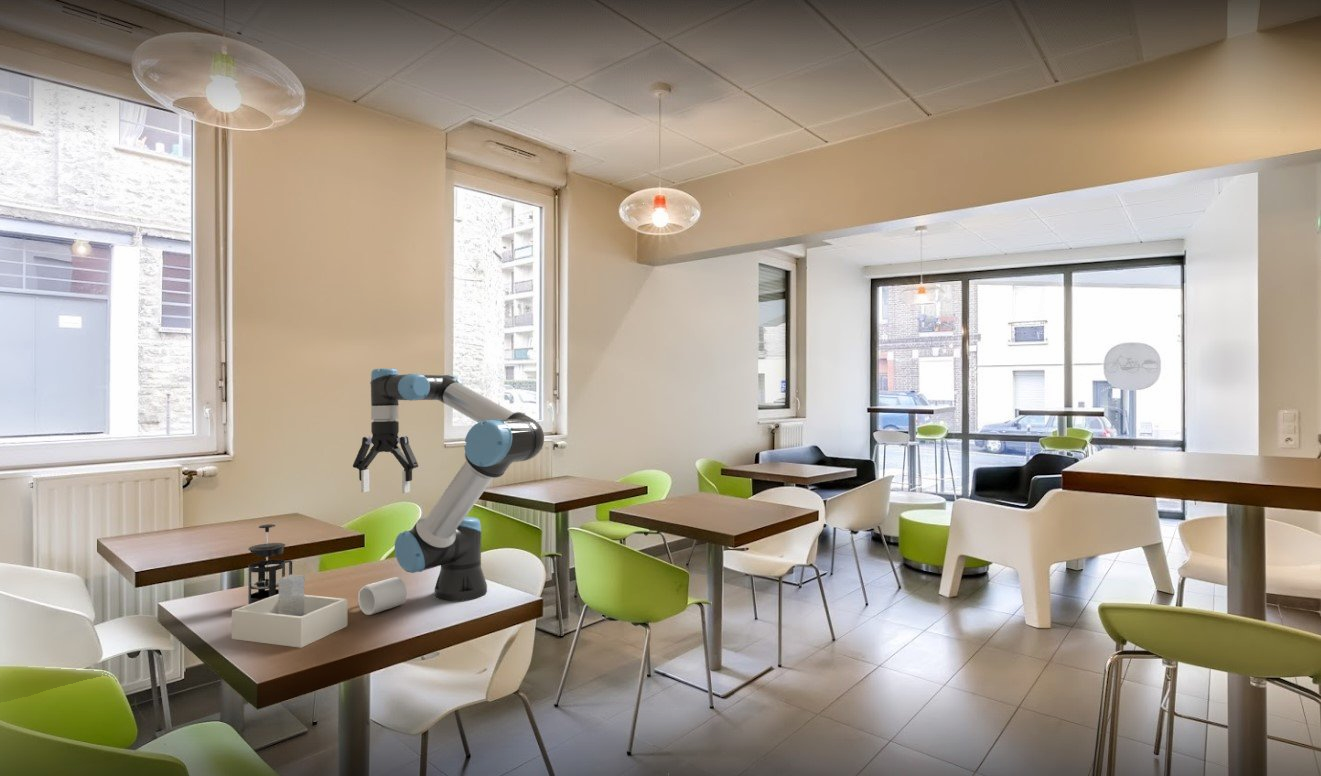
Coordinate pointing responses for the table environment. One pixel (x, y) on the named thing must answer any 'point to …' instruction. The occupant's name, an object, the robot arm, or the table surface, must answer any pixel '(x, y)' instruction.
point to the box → (289, 621)
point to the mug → (382, 595)
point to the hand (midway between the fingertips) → (385, 492)
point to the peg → (291, 595)
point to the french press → (266, 569)
